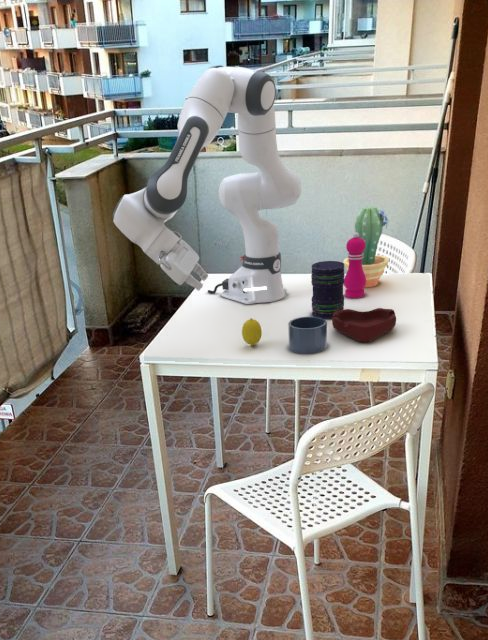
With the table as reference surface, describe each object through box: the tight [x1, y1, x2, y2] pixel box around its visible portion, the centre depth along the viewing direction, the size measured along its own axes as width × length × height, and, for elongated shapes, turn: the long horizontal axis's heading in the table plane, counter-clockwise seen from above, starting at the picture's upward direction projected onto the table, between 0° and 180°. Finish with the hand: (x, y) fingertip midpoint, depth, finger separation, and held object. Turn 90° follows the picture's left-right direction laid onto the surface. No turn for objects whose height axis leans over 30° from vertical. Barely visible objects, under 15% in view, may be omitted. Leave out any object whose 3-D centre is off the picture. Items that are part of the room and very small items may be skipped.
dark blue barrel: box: [310, 260, 346, 320], centre depth 210 cm, size 10×10×15 cm
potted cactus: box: [342, 205, 390, 288], centre depth 232 cm, size 15×15×25 cm
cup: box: [287, 315, 328, 355], centre depth 190 cm, size 10×10×7 cm
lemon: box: [241, 318, 263, 347], centre depth 193 cm, size 6×6×8 cm
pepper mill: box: [343, 232, 366, 299], centre depth 223 cm, size 7×7×20 cm
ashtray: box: [331, 307, 397, 344], centre depth 195 cm, size 18×16×5 cm
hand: (203, 283), depth 188 cm, fingers open, 8 cm apart
